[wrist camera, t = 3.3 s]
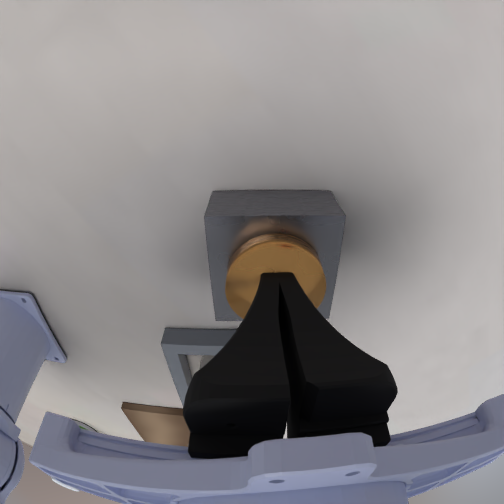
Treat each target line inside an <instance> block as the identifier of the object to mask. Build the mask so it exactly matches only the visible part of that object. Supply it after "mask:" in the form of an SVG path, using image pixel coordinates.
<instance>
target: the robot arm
mask: <svg viewBox="0 0 504 504" xmlns="http://www.w3.org/2000/svg"><path fill="white" fill-rule="evenodd" d="M45 359H46V360H50V361H55V362H61V363H65V362H66V360H67V358H66V356H65V355H64V353H63V351H62V350H61V348H60V346H59V345H58V343H57V341H56V339H55V338H54V336H53V334H52V332H51V331H50V329H49V327H48V325H47V323H46V321H45V319H44V317H43V316H42V314H41V312H40V310H39V308H38V306H37V304H36V302H35V299H34V298H33V296H32V295H31V294H29V293H20V292H9V291H0V504H4V503H5V501H6V499H7V497H8V496H9V494H10V492H11V491H12V490H13V489H14V488H15V487H16V486H17V485H18V483H19V481H20V479H21V477H22V474H23V470H24V462H25V459H24V450H23V445H22V442H21V440H20V439H19V438H18V436H19V434H20V431H21V430H20V429H19V428H18V427H17V426H16V425H15V423H16V420H17V418H18V415H19V413H20V411H21V408H22V406H23V404H24V402H25V399H26V397H27V395H28V393H29V391H30V388H31V386H32V384H33V382H34V380H35V378H36V376H37V374H38V372H39V370H40V368H41V366H42V364H43V362H44V360H45ZM397 393H398V391H397V386H396V383H395V380H394V378H393V375H392V373H391V371H390V370H389V368H388V366H387V365H386V364H384V363H383V362H381V361H379V360H377V359H375V358H373V357H372V356H370V355H368V354H367V353H365V352H364V351H362V350H361V349H359V348H358V347H356V346H355V345H354V344H352V343H351V342H350V341H349V340H347V339H346V338H345V337H344V336H342V335H341V334H340V333H339V332H338V331H337V330H336V329H335V328H334V327H333V326H332V325H331V324H330V323H329V322H328V321H327V320H326V319H325V318H324V317H323V316H322V314H321V313H320V312H319V311H318V310H317V308H316V307H315V306H314V305H313V303H312V302H311V300H310V299H309V298H308V296H307V295H306V293H305V292H304V290H303V289H302V287H301V286H300V284H299V282H298V281H297V279H296V277H295V275H294V274H293V273H292V272H274V273H262V274H261V277H260V283H259V286H258V289H257V292H256V295H255V297H254V300H253V302H252V304H251V306H250V308H249V310H248V312H247V314H246V316H245V318H244V319H243V321H242V323H241V324H240V326H239V327H238V329H237V330H236V332H235V333H234V334H233V336H232V337H231V338H230V340H229V341H228V342H227V343H226V344H225V346H224V347H223V348H222V349H221V350H220V351H219V352H218V353H217V354H216V355H215V356H214V357H213V358H212V359H211V360H210V361H209V362H208V363H207V364H206V365H204V366H203V367H202V368H201V369H200V370H199V371H197V372H196V373H195V374H194V376H193V378H192V380H191V382H190V385H189V387H188V390H187V393H186V396H185V400H184V406H183V417H184V419H185V422H186V424H187V426H188V429H189V431H190V437H189V445H188V447H185V446H175V445H166V444H158V443H151V442H145V441H138V440H132V439H127V438H121V437H116V436H111V435H106V434H102V433H97V432H93V431H89V430H85V429H81V428H80V427H79V425H78V424H77V423H76V422H75V421H74V420H72V419H70V418H68V417H65V416H61V415H58V414H54V413H51V412H46V413H45V416H44V419H43V421H42V424H41V426H40V429H39V432H38V434H37V437H36V440H35V443H34V446H33V448H32V451H31V455H30V457H29V461H30V462H31V463H32V464H33V465H35V466H36V467H37V468H39V469H41V470H42V471H43V472H45V473H46V474H48V475H49V476H51V477H52V478H54V479H55V480H57V481H58V482H60V483H62V484H65V485H68V486H70V487H73V488H76V489H79V490H82V491H85V492H87V493H91V494H93V495H96V496H100V497H103V498H106V499H109V500H112V501H116V502H119V503H123V504H409V503H408V498H410V497H413V496H415V495H418V494H421V493H424V492H426V491H429V490H431V489H434V488H436V487H439V486H441V485H444V484H446V483H448V482H451V481H453V480H455V479H457V478H460V477H462V476H464V475H467V474H469V473H471V472H473V471H475V470H477V469H479V468H481V467H483V466H485V465H488V464H490V463H491V462H493V461H494V460H496V459H497V458H498V457H500V456H501V455H502V454H503V453H504V394H502V395H499V396H497V397H494V398H491V399H489V400H487V401H485V402H484V403H482V404H481V405H480V406H479V407H478V408H477V410H476V411H475V412H473V413H470V414H468V415H465V416H462V417H459V418H455V419H452V420H449V421H446V422H442V423H439V424H436V425H432V426H428V427H425V428H421V429H417V430H413V431H408V432H404V433H400V434H395V435H390V434H389V430H388V426H387V423H388V421H389V417H388V414H387V410H388V409H389V407H390V406H391V404H392V402H393V401H394V399H395V398H396V395H397ZM286 423H287V439H283V435H284V434H285V429H286Z"/></svg>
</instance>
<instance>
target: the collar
mask: <svg viewBox="0 0 504 504" xmlns="http://www.w3.org/2000/svg"><path fill="white" fill-rule="evenodd" d="M235 332H236V330H215V329H175V328H165V331H164V334H163V338H162V341H161V346H162V349H163V352H164V355H165V358H166V361H167V364H168V367H169V370H170V372H171V375H172V378H173V381H174V384H175V386H176V389H177V392H178V394H179V397H180V400H181V402H182V405H183V406H184V400H185V396H186V393H187V390H188V387H189V385H190V382H191V380H192V376H191V373H190V369H189V366H188V362H187V358H186V355H216V354H217V353H218V352H219V351H220V350H221V349H222V348H223V347H224V346H225V344H226V343H227V342H228V341H229V340H230V338H231V337H232V336H233V334H234V333H235Z"/></svg>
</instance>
